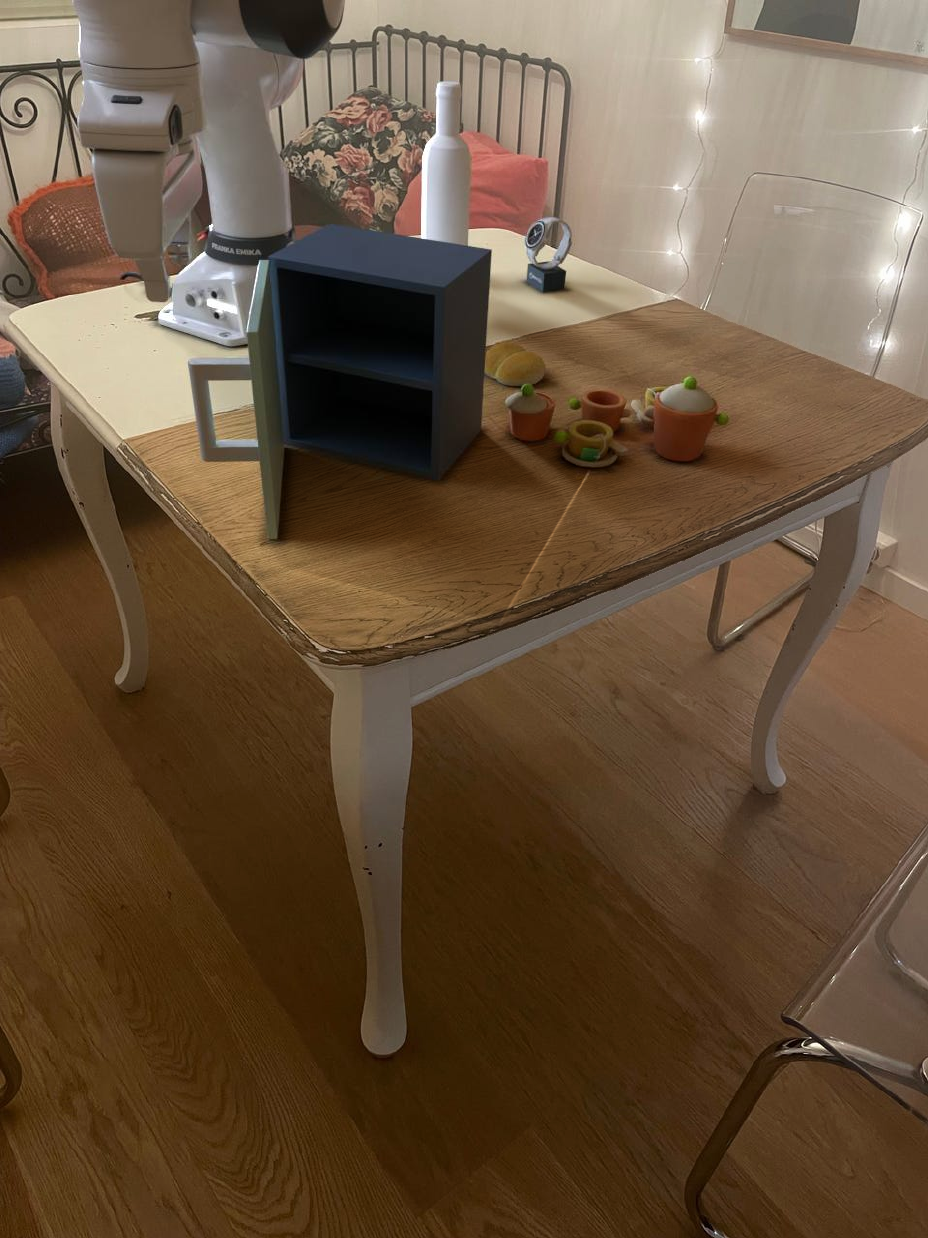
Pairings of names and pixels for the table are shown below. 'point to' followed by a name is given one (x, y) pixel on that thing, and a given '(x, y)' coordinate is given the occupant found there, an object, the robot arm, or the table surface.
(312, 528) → the table surface
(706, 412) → the toy tea set
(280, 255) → the cupboard
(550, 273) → the watch
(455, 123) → the bottle
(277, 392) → the cupboard door
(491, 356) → the bread roll
